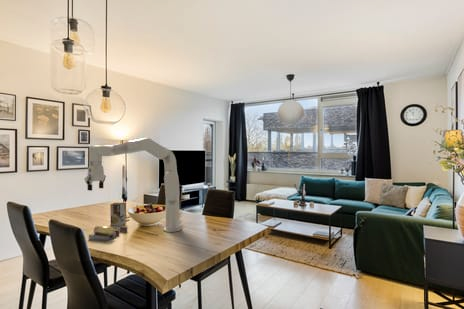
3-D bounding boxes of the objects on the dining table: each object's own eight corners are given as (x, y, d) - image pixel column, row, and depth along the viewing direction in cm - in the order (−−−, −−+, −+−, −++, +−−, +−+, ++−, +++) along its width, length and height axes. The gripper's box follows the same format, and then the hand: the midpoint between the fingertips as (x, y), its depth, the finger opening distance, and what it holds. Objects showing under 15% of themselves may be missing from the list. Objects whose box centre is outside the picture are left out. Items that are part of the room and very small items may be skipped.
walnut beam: (121, 231, 180) (121, 226, 180) (127, 231, 178) (127, 226, 178) (111, 235, 171) (111, 230, 171) (118, 235, 170) (118, 230, 170)
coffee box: (126, 223, 198) (126, 202, 198) (120, 226, 192) (120, 204, 192) (116, 222, 201) (116, 202, 200) (110, 225, 194) (110, 203, 194)
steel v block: (99, 235, 171) (99, 230, 171) (116, 236, 168) (116, 232, 168) (88, 239, 162) (88, 234, 162) (105, 241, 159) (105, 236, 159)
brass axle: (99, 232, 169) (99, 224, 168) (115, 233, 166) (114, 226, 165) (93, 235, 164) (93, 227, 164) (109, 236, 161) (109, 228, 160)
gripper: (89, 164, 162) (89, 191, 163) (109, 163, 179) (109, 187, 179) (80, 164, 164) (80, 191, 165) (100, 163, 181) (100, 187, 181)
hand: (95, 189), depth 172 cm, fingers open, 9 cm apart
